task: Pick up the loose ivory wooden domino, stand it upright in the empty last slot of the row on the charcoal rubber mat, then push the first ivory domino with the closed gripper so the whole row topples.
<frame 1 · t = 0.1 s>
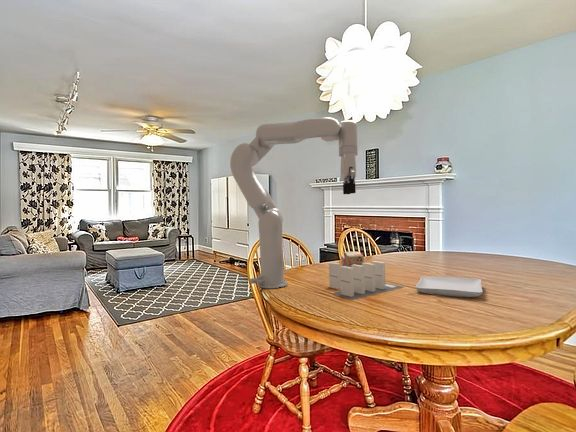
hand: (349, 193, 142), 37 cm above the table, tool pointing down, fingers open, 9 cm apart
cardboard box: (352, 280, 150), on the table
domino 2: (358, 292, 127), resting on domino mat
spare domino: (335, 288, 135), on the table
domino mat: (368, 291, 130), on the table
domino 1: (347, 294, 124), resting on domino mat
domino 3: (368, 290, 130), resting on domino mat
domino 4: (378, 287, 133), resting on domino mat
salad plate: (449, 292, 127), on the table
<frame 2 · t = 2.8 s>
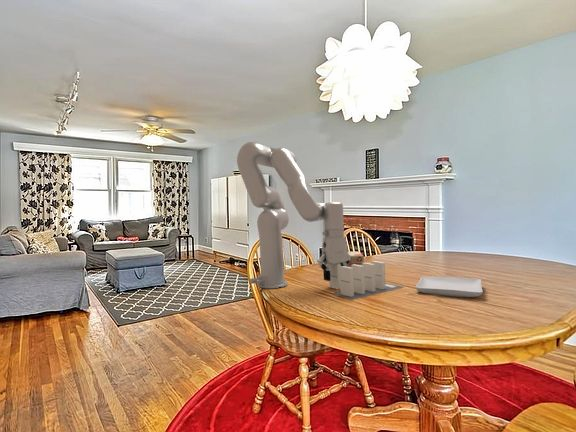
hand: (335, 278, 135), 4 cm above the table, tool pointing down, fingers open, 7 cm apart
nothing on the table moved.
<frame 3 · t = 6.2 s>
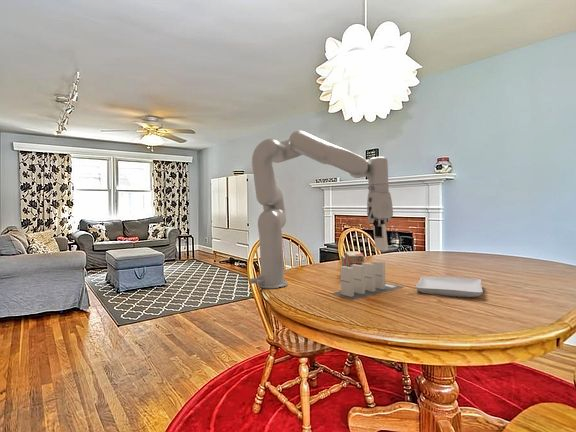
hand: (380, 236, 135), 20 cm above the table, tool pointing down, fingers closed on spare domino, 1 cm apart
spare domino: (381, 250, 135), point 15 cm above the table, tilted 6°, touching gripper
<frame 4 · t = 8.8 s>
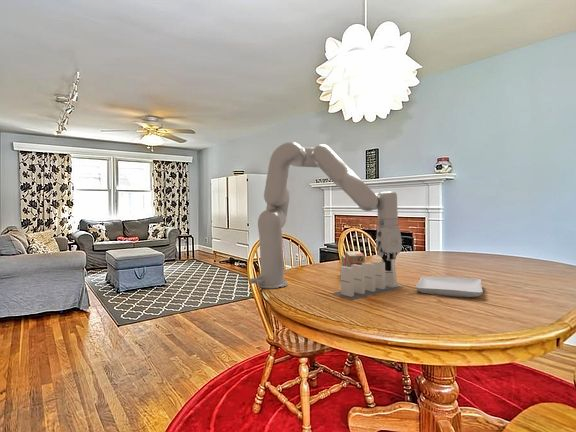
hand: (389, 269, 135), 7 cm above the table, tool pointing down, fingers closed on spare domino
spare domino: (390, 285, 135), point 1 cm above the table, tilted 7°, touching domino mat, gripper
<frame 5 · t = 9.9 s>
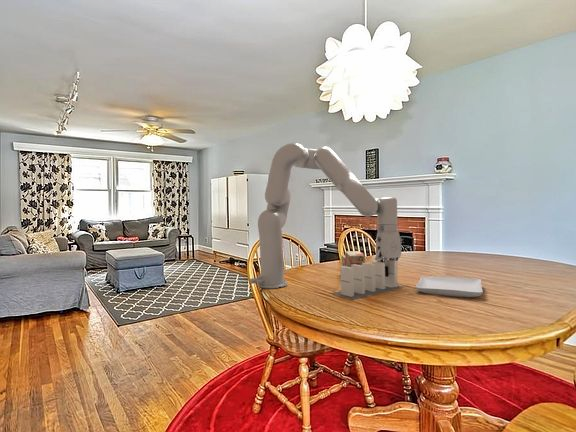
hand: (388, 274, 136), 5 cm above the table, tool pointing down, fingers open, 3 cm apart
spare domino: (390, 285, 135), resting on domino mat
domino 4: (378, 287, 133), resting on domino mat, touching gripper
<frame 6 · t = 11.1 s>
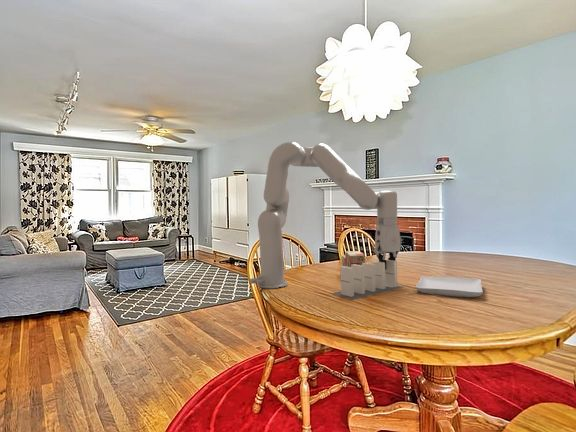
hand: (387, 268, 136), 7 cm above the table, tool pointing down, fingers open, 4 cm apart
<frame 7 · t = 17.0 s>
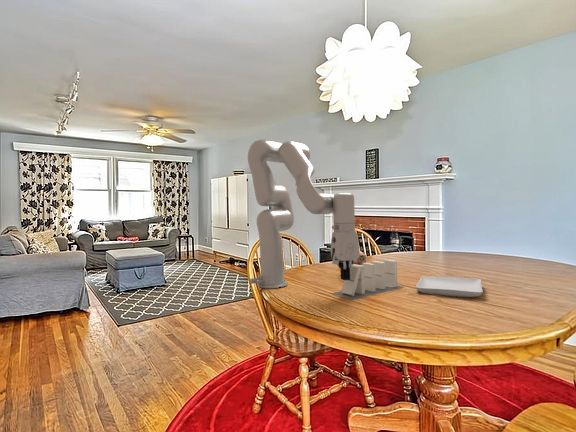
hand: (345, 279, 123), 6 cm above the table, tool pointing down, fingers closed
cardboard box: (354, 279, 153), on the table
domino 2: (358, 292, 127), resting on domino mat, touching domino 1
domino 1: (347, 294, 124), point 1 cm above the table, tilted 23°, touching domino 2
domino 4: (378, 287, 133), resting on domino mat
everything else where it was.
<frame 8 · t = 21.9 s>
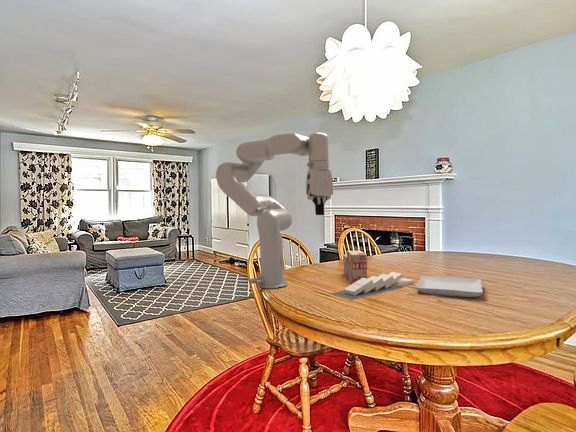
hand: (319, 214, 132), 29 cm above the table, tool pointing down, fingers closed
domino 2: (360, 290, 127), point 1 cm above the table, tilted 73°, touching domino 1, domino 3, domino mat
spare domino: (392, 283, 136), point 1 cm above the table, tilted 93°, touching domino 4, domino mat
domino 1: (349, 292, 124), point 1 cm above the table, tilted 73°, touching domino 2, domino mat
domino 3: (370, 287, 130), point 1 cm above the table, tilted 73°, touching domino 2, domino 4, domino mat
domino 4: (381, 285, 133), point 1 cm above the table, tilted 73°, touching domino 3, domino mat, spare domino
everything else where it was.
at the end: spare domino inside the target area on the domino mat (1.0 cm from its centre), point 1.3 cm above the domino mat's base; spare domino tilted 93°; domino 1 tilted 73° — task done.
